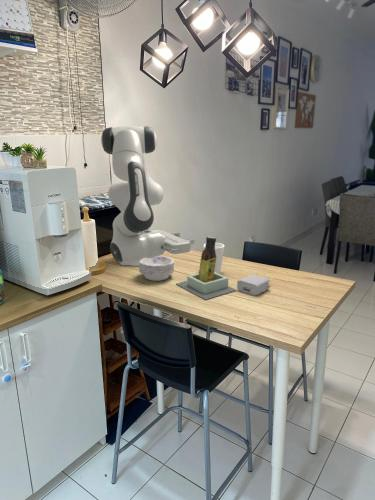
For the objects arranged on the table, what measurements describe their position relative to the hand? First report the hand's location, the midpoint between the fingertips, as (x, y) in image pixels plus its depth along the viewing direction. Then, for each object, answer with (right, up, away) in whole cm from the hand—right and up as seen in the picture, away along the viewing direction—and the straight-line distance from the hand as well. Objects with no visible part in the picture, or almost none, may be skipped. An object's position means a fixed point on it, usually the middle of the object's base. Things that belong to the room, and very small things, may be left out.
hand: (185, 237), depth 147 cm
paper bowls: (-13, -17, +23) cm, 32 cm away
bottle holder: (+9, -20, +12) cm, 25 cm away
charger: (+29, -21, +12) cm, 38 cm away
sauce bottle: (+8, -19, +13) cm, 24 cm away
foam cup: (+12, -15, +29) cm, 35 cm away
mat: (+8, -20, +12) cm, 25 cm away
